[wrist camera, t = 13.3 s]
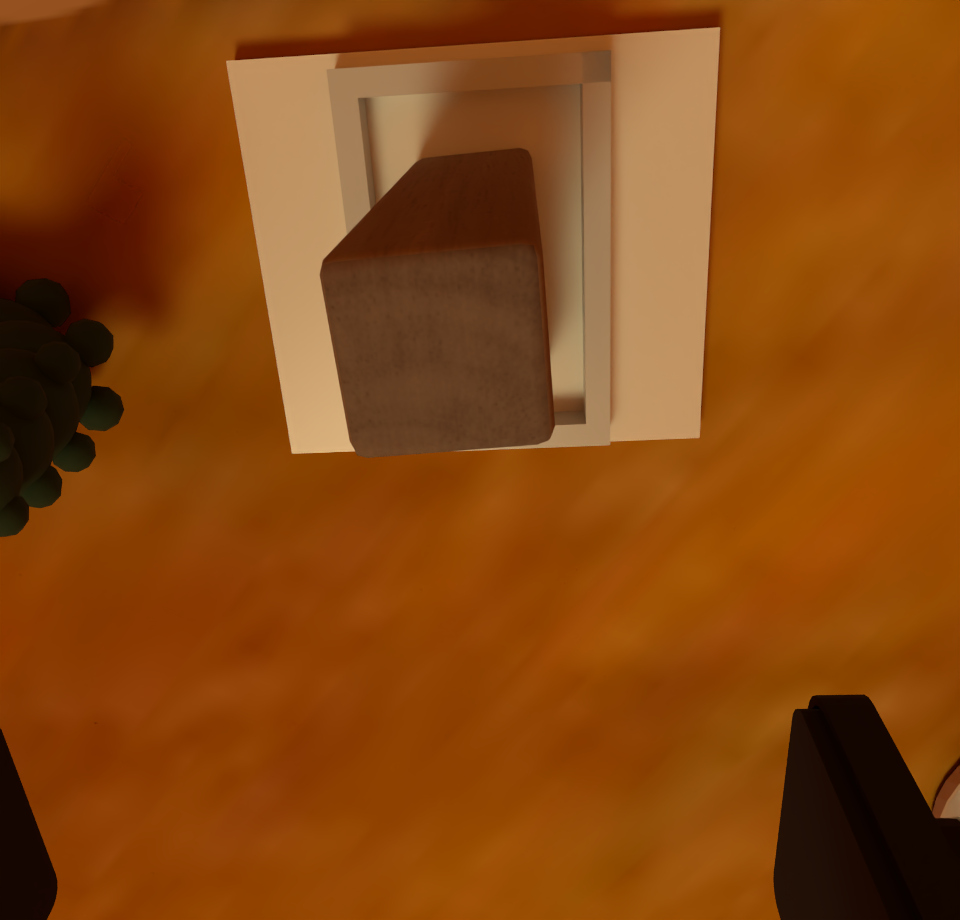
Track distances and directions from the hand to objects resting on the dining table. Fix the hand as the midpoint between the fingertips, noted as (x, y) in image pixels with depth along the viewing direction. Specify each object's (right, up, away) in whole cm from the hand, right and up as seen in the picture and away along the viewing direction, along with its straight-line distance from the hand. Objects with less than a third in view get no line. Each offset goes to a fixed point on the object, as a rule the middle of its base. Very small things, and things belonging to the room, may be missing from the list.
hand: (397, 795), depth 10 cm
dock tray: (+1, +12, +25) cm, 28 cm away
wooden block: (+1, +12, +25) cm, 28 cm away
